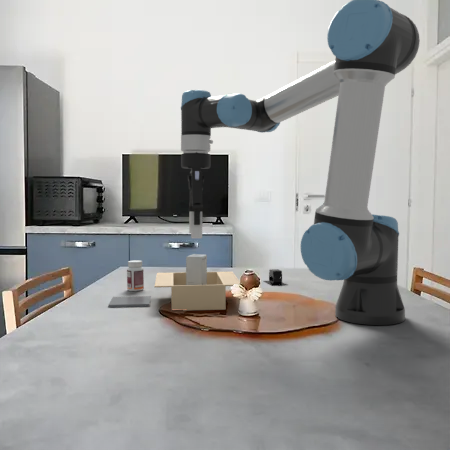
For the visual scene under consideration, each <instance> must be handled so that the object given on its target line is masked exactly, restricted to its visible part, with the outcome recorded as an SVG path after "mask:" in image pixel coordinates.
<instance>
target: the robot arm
mask: <svg viewBox="0 0 450 450" xmlns="http://www.w3.org/2000/svg"><path fill="white" fill-rule="evenodd" d="M326 38H327V46H328V47H329V49H330V51H331V53H332V55H333V56H334V57H335V59H334V60H333V61H330V62H328V63H327V64H325V65H323V66H321V67H319V68H318V69H316V70H314V71H311V72H310V73H308V74H306V75H304V76H302V77H300V78H298V79H296V80H294V81H292V82H290V83H289V84H286V85H284V86H282V87H281V88H279V89H277V90H275V91H273V92H271V93H270V94H267V95H265V96H263V97H262V98H259V99H257V100H254V99H249V98H247V96H246V95H245V94H242V93H227V94H223V95H217V96H212V93H211V92H210V91H209V90H205V89H190V90H189V89H188V90H186V91H183V93H182V95H181V106H180V115H181V118H180V119H181V120H180V121H181V122H180V123H181V127H180V128H181V130H180V131H181V133H180V134H181V135H180V151H181V152H183V153H182V154H181V155H180V166H181V167H180V168H182V169H190V172H189V175H187V183H188V191H189V203H188V205H189V207H188V212H189V216H188V217H189V220H188V221H189V222H188V223H189V228H188V233H189V234H190V239H203V210H204V205H203V204H204V203H203V190H204V182H205V176H204V175H203V173H204V172H203V171H202V170H205V169H207V170H208V169H210V168H211V165H212V164H211V161H212V160H211V154H210V153H209V152H211V144H213V143H214V141H213V140H212V139H211V137H212V135H211V134H212V129H216V128H218V129H219V128H230V129H238V130H247V131H252V132H258V133H271V132H273V131H274V132H275V130H277V128H278V127H279V126H280V124H281V122H284V121H287V120H288V119H291V118H292V117H295V116H298V115H299V114H301V113H304V112H306V111H308V110H310V109H312V108H315V107H317V106H318V105H321V104H323V103H325V102H327V101H329V100H332V99H334V98H336V97H337V105H336V111H335V119H334V120H335V121H334V127H333V135H332V143H331V147H330V148H331V150H330V156H329V157H330V158H329V165H328V172H327V173H328V174H327V182H326V188H325V193H324V195H325V196H324V201H323V202H322V204H321V205H320V206H319V207H318V208H316V209H315V213H314V219H313V224H312V225H310V226H309V228H308V229H307V230H305V231H304V232H303V234H302V237H301V240H300V254H301V258H302V261H303V263H304V265H306V266H307V268H308V271H309V272H311V273H312V274H313V275H314V276H316V277H317V278H319V279H322V280H324V281H343V284H342V287H341V288H340V289H341V290H340V292H339V295H338V298H337V301H336V304H335V309H334V310H335V312H334V313H335V315H336V316H335V317H336V318H337V317H338V318H337V319H339V320H341V321H343V322H348V323H353V324H359V325H365V326H366V325H367V326H368V325H369V326H389V325H397V324H401V323H403V322H405V320H406V309H405V306H404V302H403V298H402V296H401V292H400V289H399V286H398V266H399V265H398V264H399V263H398V261H399V259H398V258H399V236H400V232H399V222H398V220H397V219H396V218H395V217H393V216H389V215H381V214H372V213H371V211H370V210H369V209H368V204H369V199H370V192H371V185H372V178H373V170H374V164H375V157H376V152H377V151H376V150H377V144H378V138H379V130H380V123H381V117H382V110H383V103H384V97H385V96H384V95H385V91H386V90H385V89H386V86H387V85H388V84H389V83H390V82H391V81H392V80H394V79H395V76H396V75H397V74H399V73H401V72H402V71H404V70H405V69H406V68H408V66H410V65H411V64H412V63H413V61H414V60H415V58H416V56H417V53H418V51H419V47H420V33H419V30H418V27H417V26H416V24H415V23H414V22H413V20H412V19H411V18H409V17H408V16H407V15H405V14H403V13H400V12H399V11H397V10H396V9H393V8H392V7H390V6H389V4H387V3H385V2H384V1H382V0H350V1H348V2H347V3H345V4H343V6H341V8H340V9H339V10H337V12H335V14H334V16H333V17H332V20H330V23H329V26H328V29H327V37H326Z"/></svg>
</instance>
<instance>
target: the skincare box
mask: <svg viewBox="0 0 450 450" xmlns="http://www.w3.org/2000/svg"><path fill="white" fill-rule="evenodd" d="M207 268H208V254H197V253H192V254H189V255H187V256H185V272H186V285H207V272H208V269H207Z"/></svg>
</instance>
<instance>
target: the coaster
mask: <svg viewBox="0 0 450 450" xmlns="http://www.w3.org/2000/svg"><path fill="white" fill-rule="evenodd" d="M151 301H152V296H151V295H141V296H140V295H137V296H112V298H111V300H110V301H109V303H108V306H107V307H108V308H129V307H131V308H134V307H136V308H137V307H141V308H142V307H150V305H151Z"/></svg>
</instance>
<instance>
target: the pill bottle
mask: <svg viewBox="0 0 450 450" xmlns="http://www.w3.org/2000/svg"><path fill="white" fill-rule="evenodd" d="M127 266H128V267H127V269H126V289H127V291H128V292H129V291H130V292H140V291H143V290H144V288H145V287H144V286H145V283H144V279H145V278H144V277H145V276H144V267H142V266H143V260H137V259H136V260H135V259H134V260H129V261H127Z"/></svg>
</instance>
